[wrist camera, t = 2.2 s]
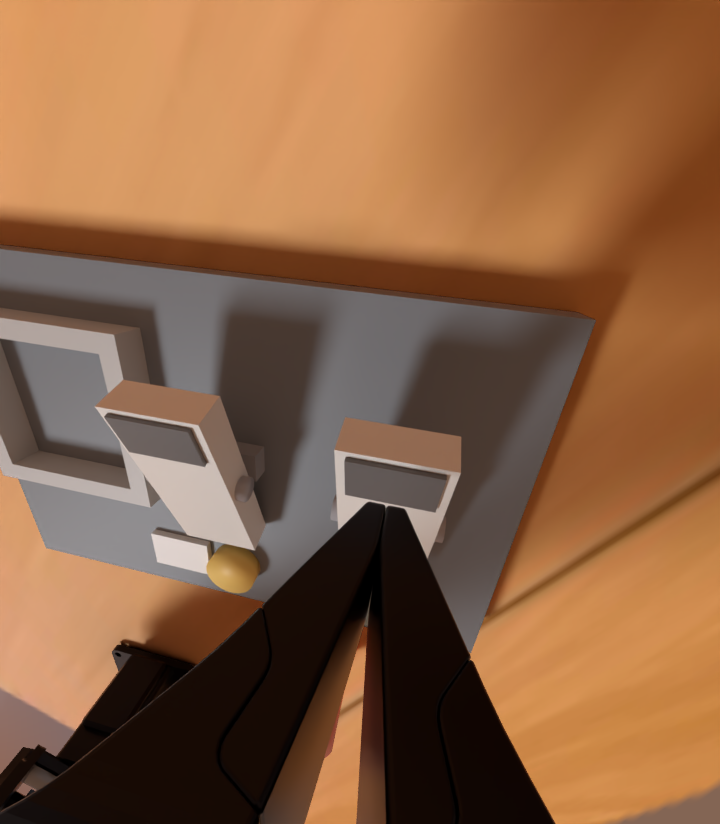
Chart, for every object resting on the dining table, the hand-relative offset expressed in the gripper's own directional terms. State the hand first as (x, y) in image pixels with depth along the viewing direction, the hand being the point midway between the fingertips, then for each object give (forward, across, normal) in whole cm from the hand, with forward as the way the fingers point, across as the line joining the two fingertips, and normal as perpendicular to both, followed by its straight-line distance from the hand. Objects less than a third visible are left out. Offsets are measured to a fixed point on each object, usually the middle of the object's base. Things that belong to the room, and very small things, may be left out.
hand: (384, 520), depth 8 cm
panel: (+7, +7, +4) cm, 11 cm away
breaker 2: (+3, 0, +3) cm, 4 cm away
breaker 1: (+3, +7, +3) cm, 8 cm away
